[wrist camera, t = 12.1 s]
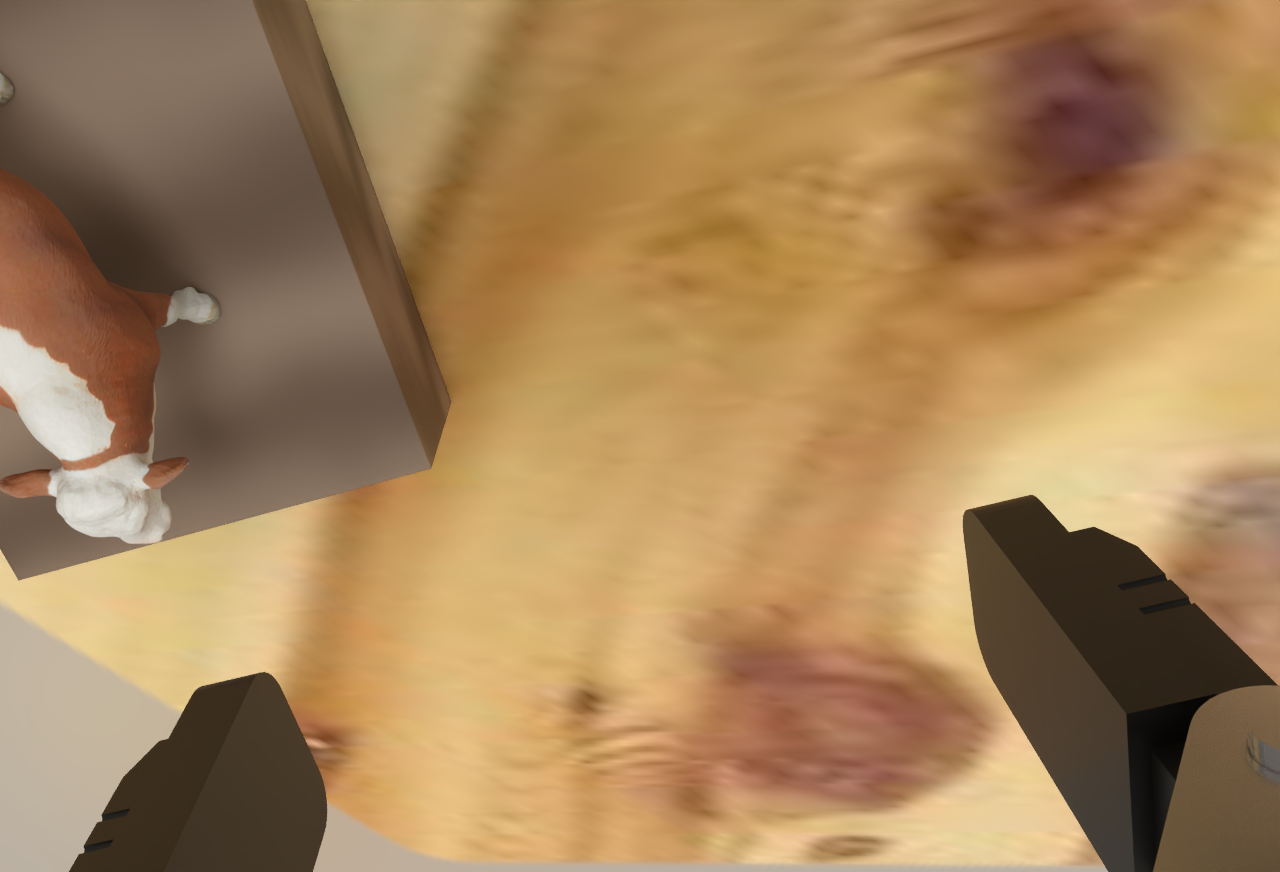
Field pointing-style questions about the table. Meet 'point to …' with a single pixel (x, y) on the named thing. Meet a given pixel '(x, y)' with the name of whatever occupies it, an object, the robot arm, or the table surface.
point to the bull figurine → (83, 369)
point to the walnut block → (220, 255)
